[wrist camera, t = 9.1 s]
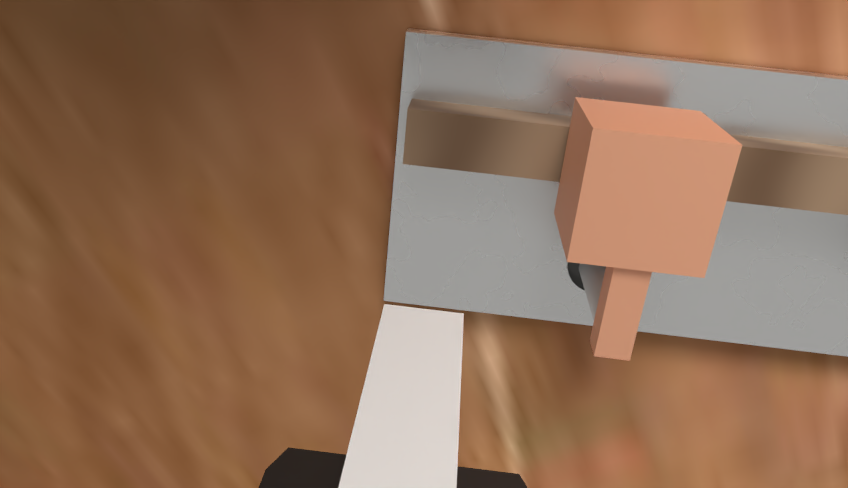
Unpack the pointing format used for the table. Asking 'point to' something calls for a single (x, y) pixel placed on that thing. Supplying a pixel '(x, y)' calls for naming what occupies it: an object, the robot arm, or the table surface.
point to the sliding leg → (639, 205)
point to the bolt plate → (535, 199)
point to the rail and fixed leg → (546, 143)
